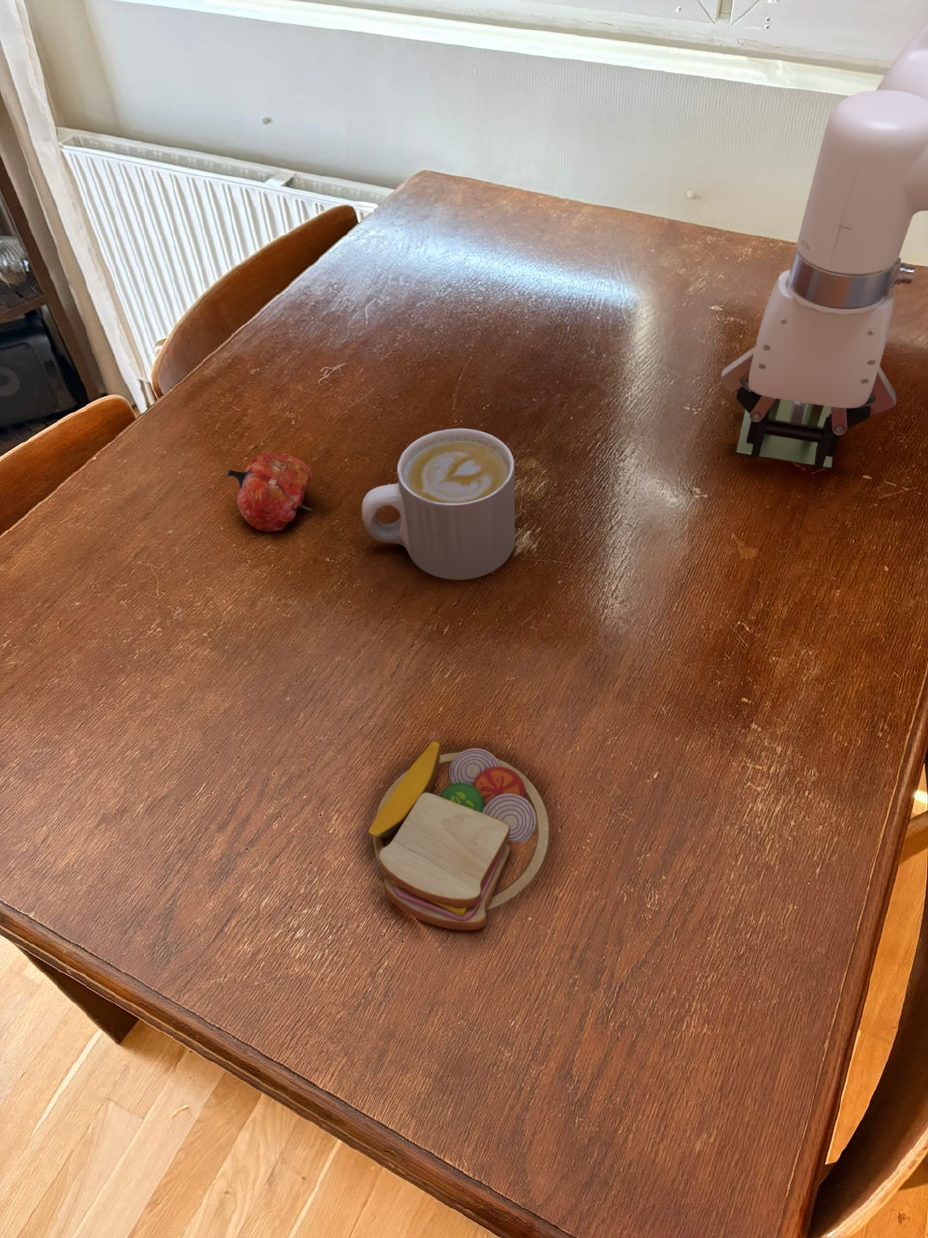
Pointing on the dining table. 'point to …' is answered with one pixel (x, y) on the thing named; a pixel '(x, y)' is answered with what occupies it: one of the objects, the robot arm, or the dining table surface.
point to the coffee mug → (450, 504)
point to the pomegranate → (272, 490)
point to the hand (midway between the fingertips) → (787, 452)
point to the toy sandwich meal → (456, 836)
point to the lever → (795, 426)
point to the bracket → (787, 446)
